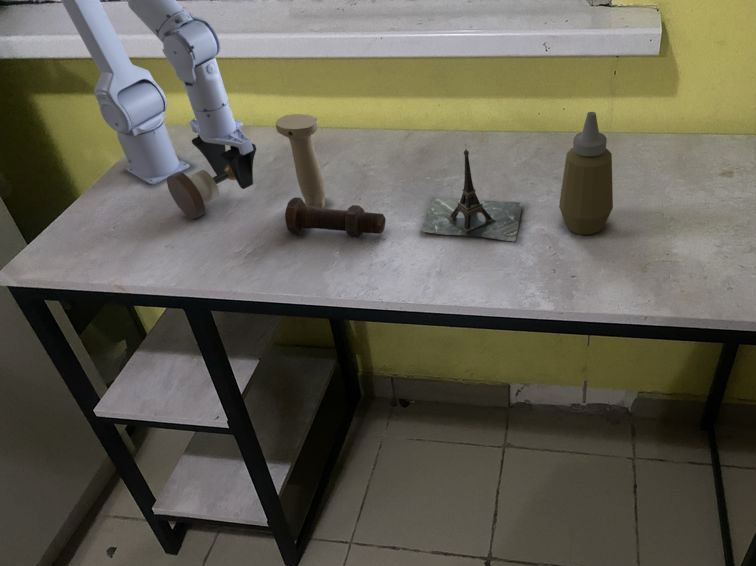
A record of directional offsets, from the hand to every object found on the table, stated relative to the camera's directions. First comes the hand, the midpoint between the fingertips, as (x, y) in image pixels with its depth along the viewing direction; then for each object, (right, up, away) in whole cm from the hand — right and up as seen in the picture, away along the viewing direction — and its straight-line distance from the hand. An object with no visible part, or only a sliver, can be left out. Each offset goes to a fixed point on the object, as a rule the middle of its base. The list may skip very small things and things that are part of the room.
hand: (235, 180), depth 121 cm
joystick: (-3, -4, -1) cm, 5 cm away
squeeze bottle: (+58, -10, -12) cm, 60 cm away
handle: (+15, -5, -3) cm, 16 cm away
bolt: (+20, -11, -9) cm, 24 cm away
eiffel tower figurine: (+41, -9, -9) cm, 43 cm away
